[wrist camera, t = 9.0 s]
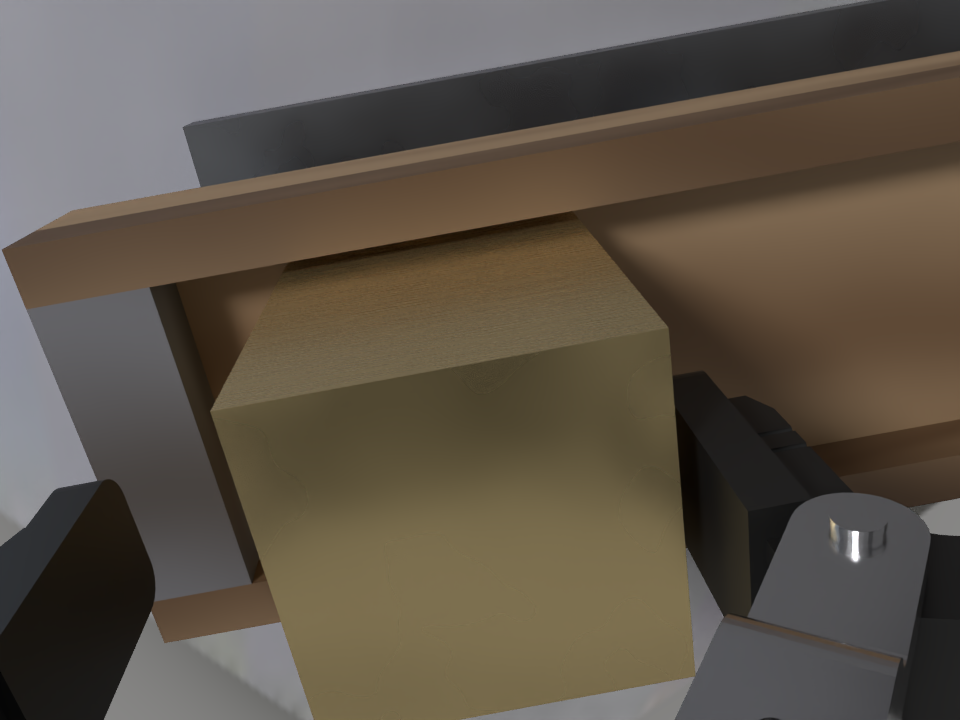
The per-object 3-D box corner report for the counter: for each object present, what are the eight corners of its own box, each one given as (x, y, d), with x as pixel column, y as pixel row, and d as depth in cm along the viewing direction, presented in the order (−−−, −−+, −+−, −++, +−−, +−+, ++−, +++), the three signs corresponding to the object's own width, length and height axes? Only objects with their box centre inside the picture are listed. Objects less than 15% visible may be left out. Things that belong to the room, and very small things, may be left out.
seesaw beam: (72, 210, 15) (1, 250, 13) (1636, -71, 15) (1884, -90, 13) (199, 555, 18) (164, 642, 16) (1494, 319, 18) (1670, 369, 16)
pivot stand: (193, 122, 24) (70, 180, 15) (1173, -55, 24) (1601, -97, 16) (273, 390, 28) (210, 562, 19) (1126, 233, 28) (1454, 330, 19)
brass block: (289, 258, 14) (210, 412, 9) (569, 207, 14) (667, 328, 9) (354, 496, 16) (322, 744, 11) (599, 451, 16) (695, 675, 11)
